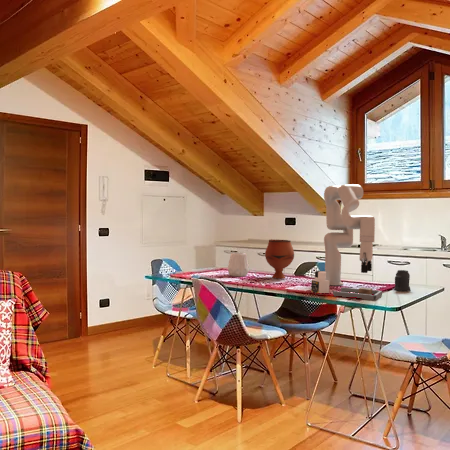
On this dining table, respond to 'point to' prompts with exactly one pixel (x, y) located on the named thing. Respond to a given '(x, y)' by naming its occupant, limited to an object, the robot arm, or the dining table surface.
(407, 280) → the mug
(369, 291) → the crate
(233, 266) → the vase
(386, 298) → the dining table surface
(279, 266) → the goblet
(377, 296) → the tray
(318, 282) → the medicine bottle
